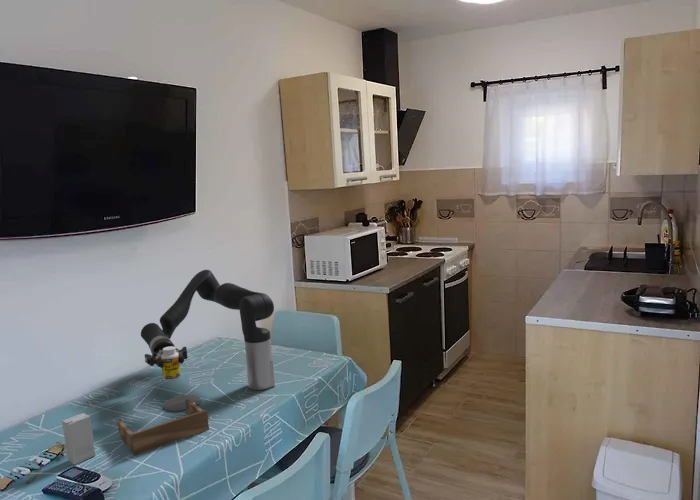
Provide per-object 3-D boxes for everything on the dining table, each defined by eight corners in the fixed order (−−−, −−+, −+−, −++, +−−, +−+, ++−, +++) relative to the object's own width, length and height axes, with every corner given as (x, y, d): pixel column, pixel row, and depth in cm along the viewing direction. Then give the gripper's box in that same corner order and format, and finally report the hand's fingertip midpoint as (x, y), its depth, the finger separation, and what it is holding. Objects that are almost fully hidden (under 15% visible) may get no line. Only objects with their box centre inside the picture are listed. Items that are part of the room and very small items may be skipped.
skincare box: (88, 451, 158) (83, 411, 157) (96, 456, 155) (90, 415, 154) (66, 461, 154) (60, 419, 152) (73, 466, 151) (68, 424, 149)
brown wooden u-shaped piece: (119, 436, 167) (116, 417, 166) (190, 413, 180) (188, 396, 179) (134, 455, 155) (132, 435, 154) (209, 429, 168) (207, 410, 167)
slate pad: (201, 394, 195) (201, 392, 195) (199, 408, 183) (199, 406, 183) (165, 399, 192) (165, 397, 192) (161, 414, 181) (161, 411, 181)
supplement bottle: (163, 382, 177) (160, 352, 176) (162, 377, 182) (159, 347, 181) (181, 379, 179) (178, 349, 178) (179, 373, 184) (176, 344, 183)
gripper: (184, 354, 196) (195, 369, 182) (141, 363, 190) (149, 379, 175) (182, 334, 195) (193, 347, 180) (139, 342, 189) (146, 356, 174)
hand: (171, 362), depth 178 cm, fingers closed on supplement bottle, 5 cm apart
